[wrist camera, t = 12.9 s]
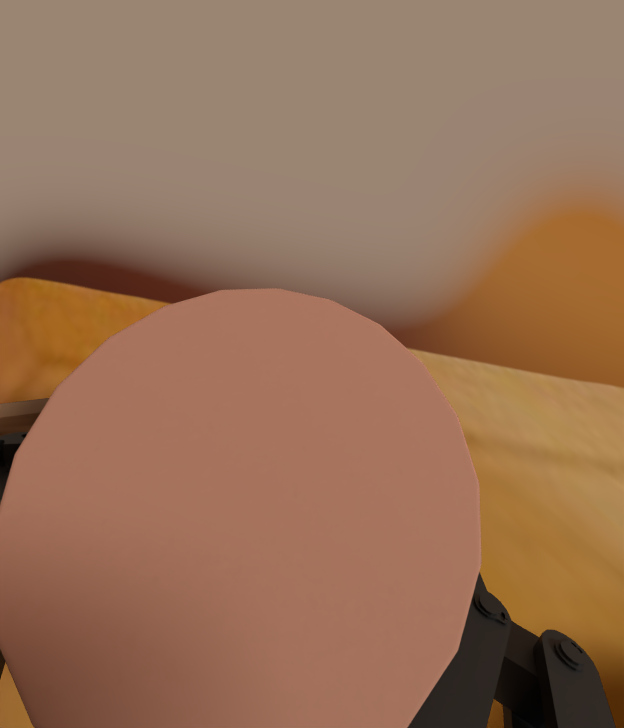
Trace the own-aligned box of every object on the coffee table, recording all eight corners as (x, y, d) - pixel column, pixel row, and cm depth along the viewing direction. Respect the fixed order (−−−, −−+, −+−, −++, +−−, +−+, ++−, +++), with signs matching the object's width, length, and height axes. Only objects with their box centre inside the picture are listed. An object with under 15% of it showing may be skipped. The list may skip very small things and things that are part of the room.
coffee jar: (376, 499, 24) (554, 439, 8) (280, 645, 20) (272, 1089, 4) (268, 410, 27) (247, 232, 11) (163, 523, 23) (-128, 506, 7)
